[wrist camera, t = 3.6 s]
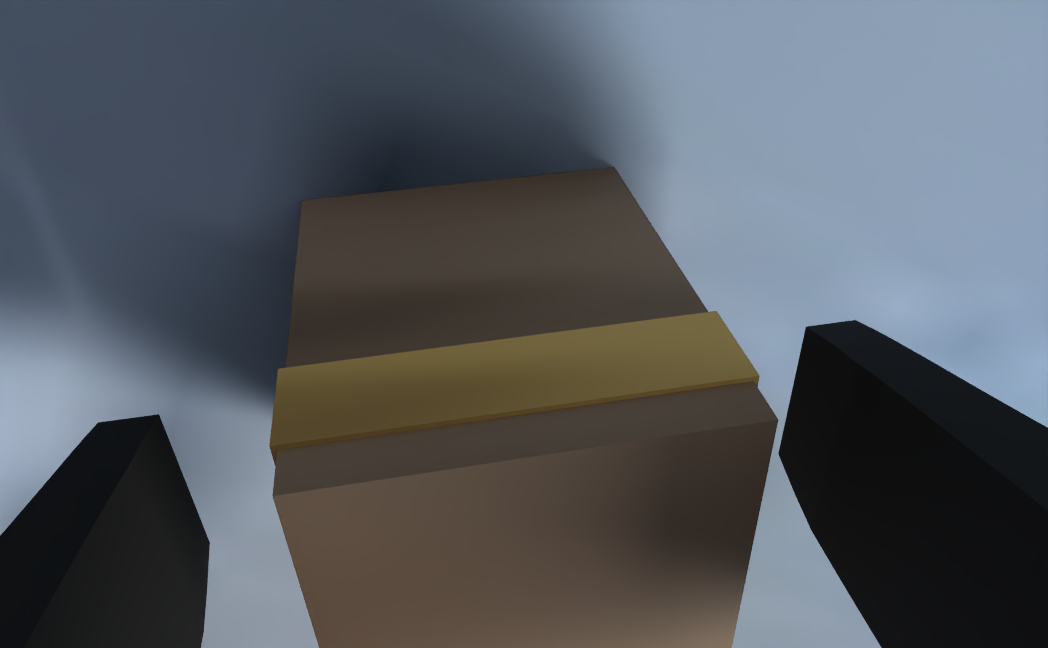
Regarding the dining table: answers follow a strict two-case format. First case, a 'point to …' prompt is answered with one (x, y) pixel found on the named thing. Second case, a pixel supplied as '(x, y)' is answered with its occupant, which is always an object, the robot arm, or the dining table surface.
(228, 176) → the dining table surface
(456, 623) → the walnut block
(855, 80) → the dining table surface
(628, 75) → the dining table surface
